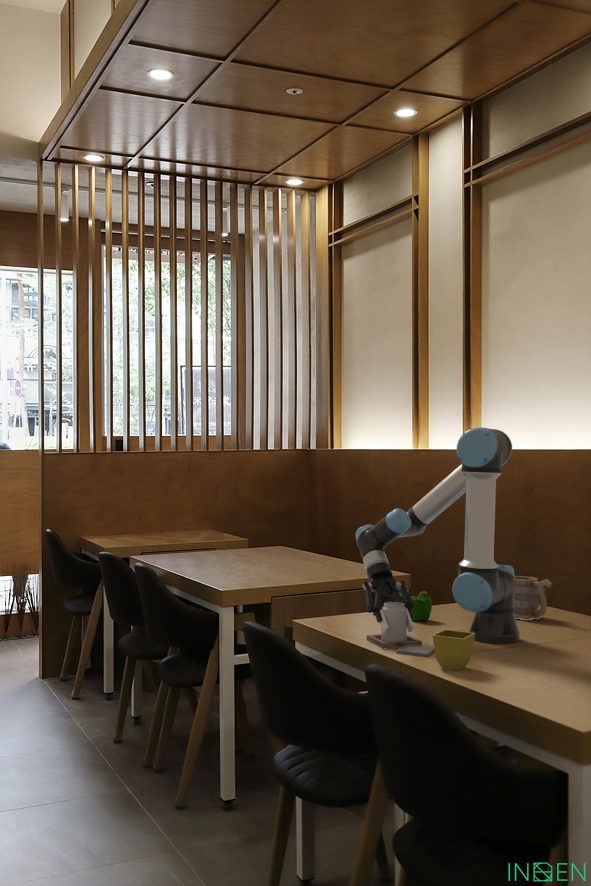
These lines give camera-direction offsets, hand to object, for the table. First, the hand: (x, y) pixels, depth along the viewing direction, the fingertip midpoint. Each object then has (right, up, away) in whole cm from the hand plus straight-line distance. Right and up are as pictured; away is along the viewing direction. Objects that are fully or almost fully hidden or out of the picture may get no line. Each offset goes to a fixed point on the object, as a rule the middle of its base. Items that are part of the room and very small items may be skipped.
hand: (398, 630), depth 244 cm
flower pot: (+11, -4, -26) cm, 29 cm away
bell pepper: (+12, -6, +41) cm, 43 cm away
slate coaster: (+4, -4, -8) cm, 10 cm away
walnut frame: (-1, -5, +3) cm, 6 cm away
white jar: (-1, -5, +3) cm, 6 cm away
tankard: (+52, -7, +47) cm, 70 cm away
